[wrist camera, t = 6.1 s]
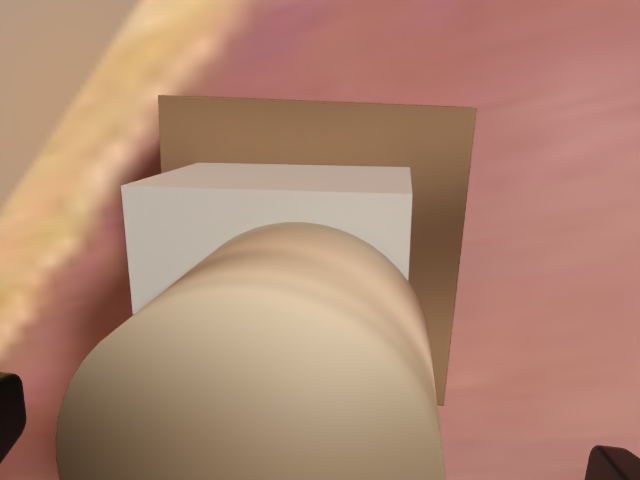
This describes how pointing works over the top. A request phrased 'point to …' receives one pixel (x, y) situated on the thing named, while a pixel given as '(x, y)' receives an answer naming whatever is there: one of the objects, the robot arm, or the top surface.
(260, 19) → the top surface
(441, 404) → the walnut slab
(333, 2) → the top surface
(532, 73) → the top surface
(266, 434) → the birch puck
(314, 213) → the grey block
